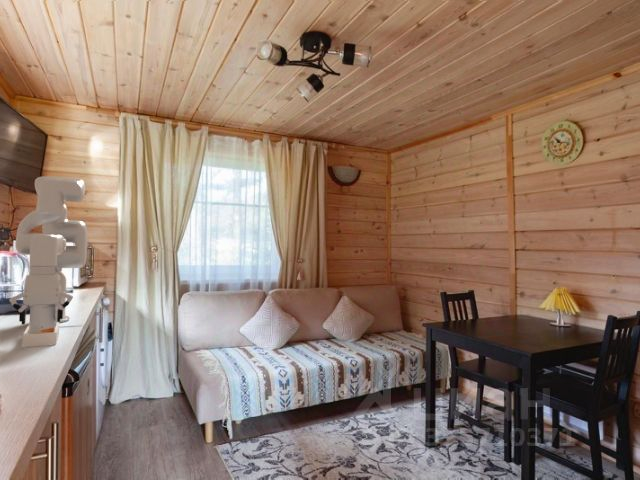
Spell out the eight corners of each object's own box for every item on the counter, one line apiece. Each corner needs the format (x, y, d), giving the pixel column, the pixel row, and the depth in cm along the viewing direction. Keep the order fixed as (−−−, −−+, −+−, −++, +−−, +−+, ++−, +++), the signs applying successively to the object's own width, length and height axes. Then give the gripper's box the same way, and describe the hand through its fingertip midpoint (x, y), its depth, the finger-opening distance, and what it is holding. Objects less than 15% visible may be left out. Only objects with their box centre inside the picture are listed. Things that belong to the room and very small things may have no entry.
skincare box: (39, 342, 128) (40, 305, 128) (28, 341, 129) (29, 304, 129) (55, 337, 134) (56, 302, 134) (44, 337, 135) (45, 302, 135)
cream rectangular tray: (28, 335, 140) (28, 323, 140) (58, 333, 144) (59, 321, 145) (22, 347, 125) (22, 334, 125) (56, 344, 130) (56, 331, 130)
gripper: (73, 270, 139) (72, 318, 139) (12, 270, 130) (10, 322, 130) (73, 271, 132) (71, 322, 132) (8, 272, 123) (6, 326, 123)
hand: (41, 322), depth 131 cm, fingers open, 9 cm apart
